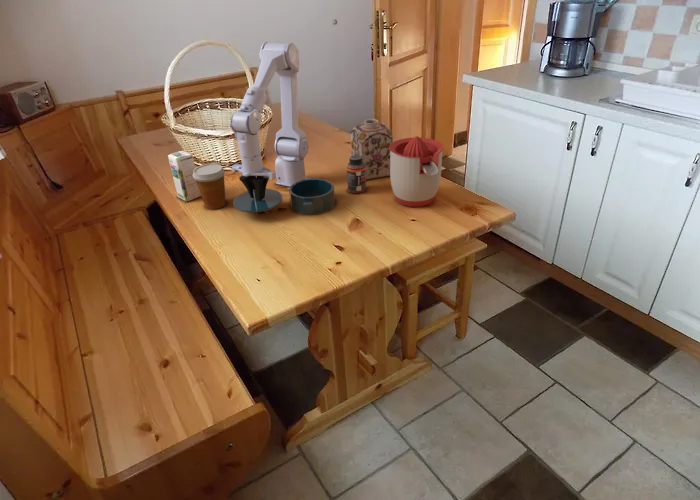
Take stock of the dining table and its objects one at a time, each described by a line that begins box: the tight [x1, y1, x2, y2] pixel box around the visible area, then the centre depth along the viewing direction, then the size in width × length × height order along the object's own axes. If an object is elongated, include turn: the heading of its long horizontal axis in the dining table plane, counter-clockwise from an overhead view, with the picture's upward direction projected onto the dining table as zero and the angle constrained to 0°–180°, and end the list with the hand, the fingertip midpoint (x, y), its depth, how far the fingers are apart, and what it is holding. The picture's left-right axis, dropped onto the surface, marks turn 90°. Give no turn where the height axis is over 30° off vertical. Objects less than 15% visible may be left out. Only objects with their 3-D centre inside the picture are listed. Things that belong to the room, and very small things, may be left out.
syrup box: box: [167, 150, 202, 202], centre depth 150 cm, size 6×6×14 cm
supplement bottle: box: [346, 155, 367, 194], centre depth 150 cm, size 6×6×11 cm
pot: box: [288, 176, 336, 215], centre depth 145 cm, size 14×19×5 cm
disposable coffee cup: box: [192, 163, 227, 210], centre depth 145 cm, size 10×10×12 cm
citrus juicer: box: [389, 135, 445, 208], centre depth 140 cm, size 16×17×20 cm
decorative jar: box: [349, 118, 394, 181], centre depth 160 cm, size 12×12×18 cm
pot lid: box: [232, 187, 284, 213], centre depth 140 cm, size 15×15×5 cm
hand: (257, 197), depth 141 cm, fingers closed on pot lid, 2 cm apart
